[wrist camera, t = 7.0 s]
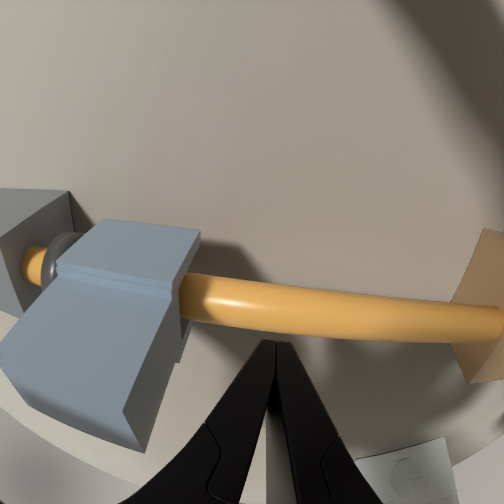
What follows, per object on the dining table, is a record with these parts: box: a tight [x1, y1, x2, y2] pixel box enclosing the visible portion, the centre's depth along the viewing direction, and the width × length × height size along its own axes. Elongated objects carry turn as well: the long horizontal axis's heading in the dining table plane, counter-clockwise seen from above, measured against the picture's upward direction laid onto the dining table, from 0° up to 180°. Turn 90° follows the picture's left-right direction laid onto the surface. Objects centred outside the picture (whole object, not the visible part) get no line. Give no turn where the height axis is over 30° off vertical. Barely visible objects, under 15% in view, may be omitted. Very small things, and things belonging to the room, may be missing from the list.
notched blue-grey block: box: [0, 219, 200, 453], centre depth 8 cm, size 4×3×7 cm
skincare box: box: [354, 436, 459, 504], centre depth 20 cm, size 10×6×10 cm, turn 106°
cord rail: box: [0, 189, 504, 384], centre depth 11 cm, size 30×6×5 cm, turn 84°
